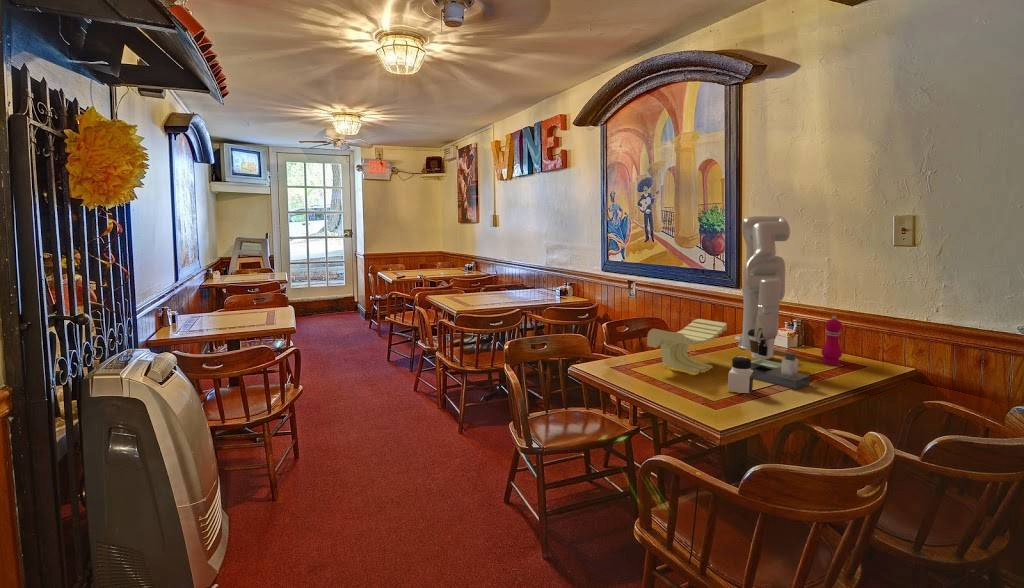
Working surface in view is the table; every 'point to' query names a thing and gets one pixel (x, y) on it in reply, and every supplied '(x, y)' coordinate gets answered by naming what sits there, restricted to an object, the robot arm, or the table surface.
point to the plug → (768, 348)
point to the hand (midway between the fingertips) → (765, 353)
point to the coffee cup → (754, 344)
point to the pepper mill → (832, 342)
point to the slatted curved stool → (685, 343)
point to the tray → (768, 363)
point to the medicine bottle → (740, 375)
